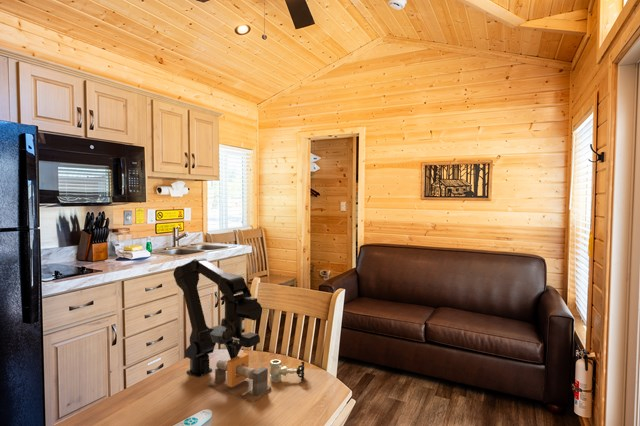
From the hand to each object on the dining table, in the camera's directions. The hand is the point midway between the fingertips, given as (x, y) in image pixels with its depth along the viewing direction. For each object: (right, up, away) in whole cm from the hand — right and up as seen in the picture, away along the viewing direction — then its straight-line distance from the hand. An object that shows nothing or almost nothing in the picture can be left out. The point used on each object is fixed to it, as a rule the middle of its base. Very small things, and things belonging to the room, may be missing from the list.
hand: (233, 361), depth 126 cm
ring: (+2, -6, -1) cm, 7 cm away
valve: (+18, -9, +5) cm, 20 cm away
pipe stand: (+2, -8, -1) cm, 9 cm away
